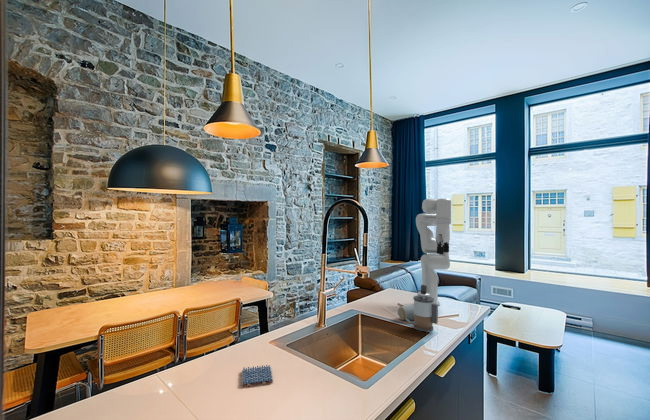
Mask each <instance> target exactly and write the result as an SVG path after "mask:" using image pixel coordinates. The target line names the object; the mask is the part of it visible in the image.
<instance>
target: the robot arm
mask: <svg viewBox="0 0 650 420" xmlns="http://www.w3.org/2000/svg"><path fill="white" fill-rule="evenodd" d="M421 205H422V206H421V209H422V212H423V213H419V214H417V215H416V217H415V225H416V228H417V231H418V233H419V235H420V245H421V246H420V247H421V251H422V252H423V253H424V254H423V255H421V257H420V266H421V285H427V293H430V296H429V297H432V298H434V302H433V303H434V304H438V307H439V306H440V305H441V302H440V301H439V300H438V298H439V297H438V294H439V293H438V288H439V287H438V284H439V283H438V282H439V279H438V278H439V277H438V275H437V273H436V272H435V270H440V271H441V270H442V271H443V270H444V271H445V270H448V269H450V266H451V260H450V254H449V253H450V239H451V236H450V233H451V231H450V230H451V229H450V225H452V200H451V199H450V198H426V199H424V200H422V203H421ZM430 227H435V237H434V232H433V231H432V230H431V229H430Z"/></svg>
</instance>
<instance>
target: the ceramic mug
mask: <svg viewBox="0 0 650 420" xmlns="http://www.w3.org/2000/svg"><path fill="white" fill-rule="evenodd" d="M397 309H398V310H397V315H398V317H399V319H400V320H402V321H406V322H408V323H409V324H411V325H413V324H414V304H408V305H403V306H399V308H397Z"/></svg>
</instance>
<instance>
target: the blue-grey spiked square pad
mask: <svg viewBox="0 0 650 420" xmlns="http://www.w3.org/2000/svg"><path fill="white" fill-rule="evenodd" d="M241 373H242V374H241V379H240V380H241V384H240V385H241V387H242V388H243V389H244V388H248V387H250V388H251V387H256V386H257V387H258V386H265V385H271V384H274V376H273V371H272V367H271V365H270V364H269V365H268V364H266V365H262V364H261V366H260V365H257V366H252V367H250V366H247V367H245V366H244V367H243V369H242V370H241Z"/></svg>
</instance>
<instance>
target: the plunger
mask: <svg viewBox="0 0 650 420" xmlns="http://www.w3.org/2000/svg"><path fill="white" fill-rule="evenodd" d="M416 295H419V296H422V299H425V297H429V296H430V293H427V285H422V284H420V291H417V294H416Z"/></svg>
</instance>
